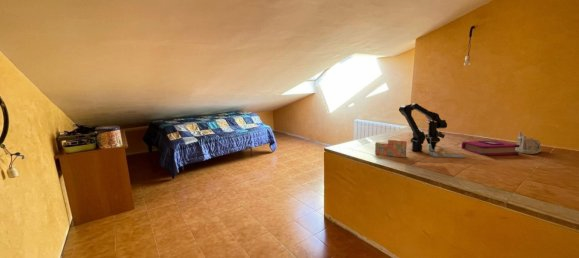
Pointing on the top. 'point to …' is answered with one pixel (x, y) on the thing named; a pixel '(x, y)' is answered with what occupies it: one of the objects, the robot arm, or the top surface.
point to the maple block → (439, 150)
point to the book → (490, 147)
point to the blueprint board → (447, 155)
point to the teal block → (430, 147)
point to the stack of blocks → (391, 148)
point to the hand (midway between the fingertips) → (431, 148)
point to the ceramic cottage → (527, 144)
